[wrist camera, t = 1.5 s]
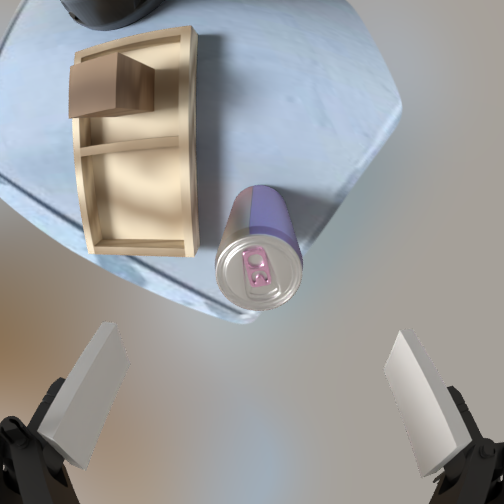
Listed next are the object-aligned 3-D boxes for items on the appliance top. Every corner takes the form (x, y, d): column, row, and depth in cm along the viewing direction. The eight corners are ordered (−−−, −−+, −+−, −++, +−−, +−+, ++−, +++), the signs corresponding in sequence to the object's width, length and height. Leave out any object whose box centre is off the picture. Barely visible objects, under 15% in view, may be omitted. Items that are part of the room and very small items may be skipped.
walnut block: (115, 76, 24) (70, 66, 16) (154, 69, 24) (117, 52, 16) (114, 117, 26) (68, 118, 18) (154, 111, 26) (115, 108, 18)
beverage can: (280, 179, 30) (298, 223, 17) (290, 229, 33) (310, 305, 19) (227, 190, 31) (200, 242, 17) (239, 238, 33) (226, 319, 20)
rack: (89, 56, 23) (75, 52, 20) (197, 34, 23) (191, 25, 20) (100, 243, 34) (88, 253, 31) (199, 245, 34) (194, 257, 31)
